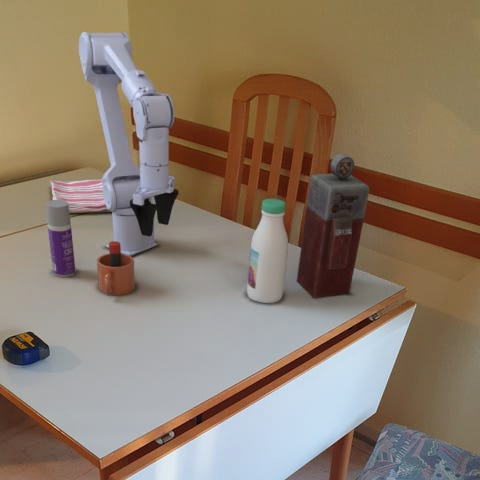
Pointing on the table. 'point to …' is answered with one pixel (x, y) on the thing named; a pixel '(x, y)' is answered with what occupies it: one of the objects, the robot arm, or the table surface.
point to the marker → (115, 254)
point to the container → (60, 238)
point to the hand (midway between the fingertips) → (155, 229)
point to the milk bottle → (268, 254)
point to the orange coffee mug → (116, 275)
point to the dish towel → (80, 195)
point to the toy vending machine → (332, 230)
